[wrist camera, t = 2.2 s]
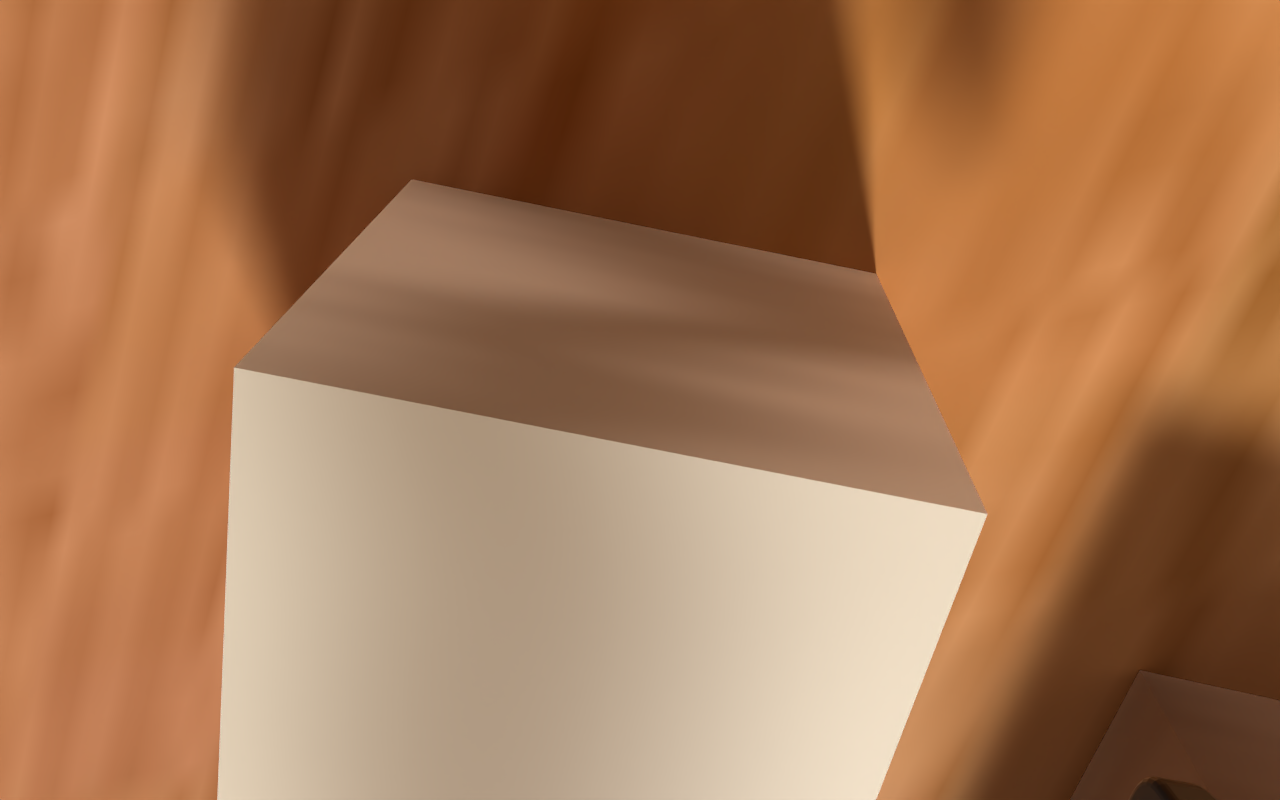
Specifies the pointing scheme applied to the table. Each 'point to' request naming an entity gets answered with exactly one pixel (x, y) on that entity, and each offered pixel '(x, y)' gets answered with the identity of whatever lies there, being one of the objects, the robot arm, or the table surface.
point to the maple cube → (580, 520)
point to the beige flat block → (1188, 742)
